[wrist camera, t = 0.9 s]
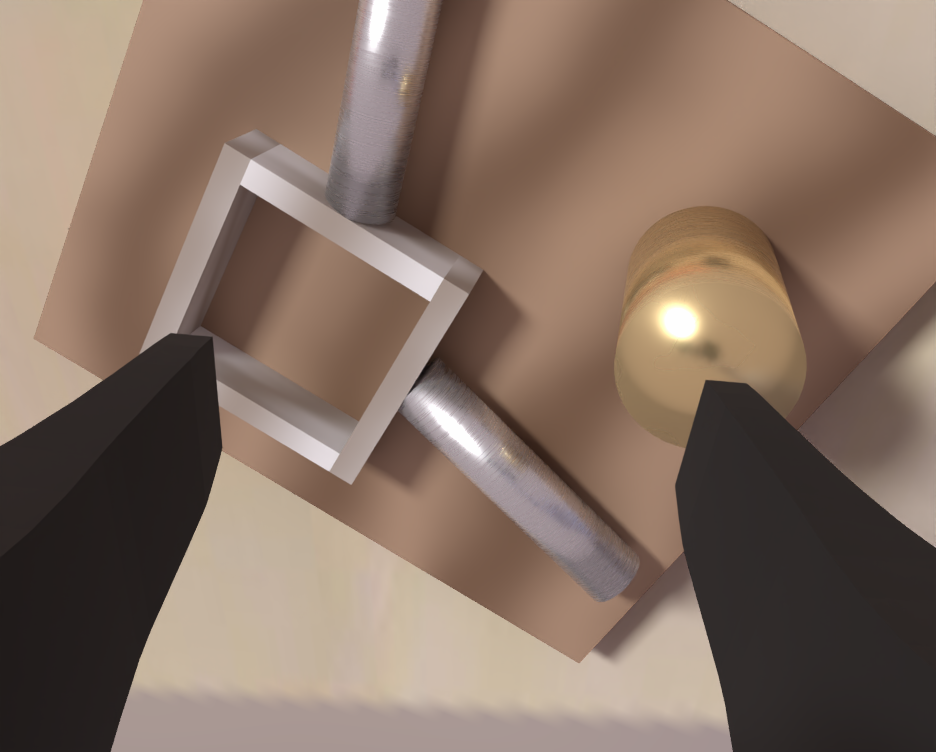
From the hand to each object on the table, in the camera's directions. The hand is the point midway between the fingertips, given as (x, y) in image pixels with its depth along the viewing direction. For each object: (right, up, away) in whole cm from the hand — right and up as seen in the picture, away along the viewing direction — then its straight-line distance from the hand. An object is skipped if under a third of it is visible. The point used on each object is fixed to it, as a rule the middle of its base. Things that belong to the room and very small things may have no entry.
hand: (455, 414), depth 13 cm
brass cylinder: (+7, +3, +11) cm, 13 cm away
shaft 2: (+2, -2, +15) cm, 15 cm away
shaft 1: (-2, +9, +10) cm, 14 cm away
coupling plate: (0, +4, +14) cm, 15 cm away
